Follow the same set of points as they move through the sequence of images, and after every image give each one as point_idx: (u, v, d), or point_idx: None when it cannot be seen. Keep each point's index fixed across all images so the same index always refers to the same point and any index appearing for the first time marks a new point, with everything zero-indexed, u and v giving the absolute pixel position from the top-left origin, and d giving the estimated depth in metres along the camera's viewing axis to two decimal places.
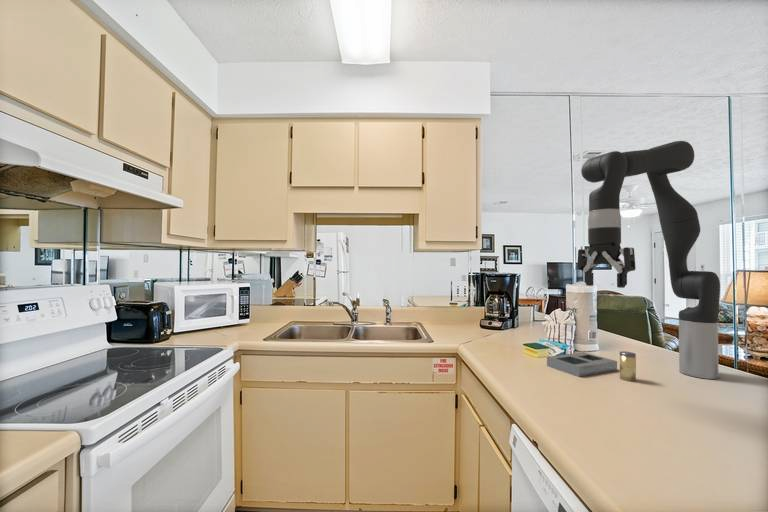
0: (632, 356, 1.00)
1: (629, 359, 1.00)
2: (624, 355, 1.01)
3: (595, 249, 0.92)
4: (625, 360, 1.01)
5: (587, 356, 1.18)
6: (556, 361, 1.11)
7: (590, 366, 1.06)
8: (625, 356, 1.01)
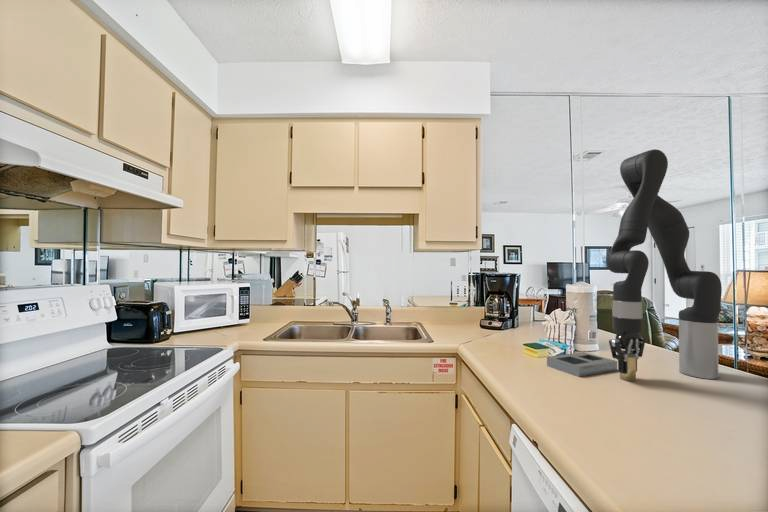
0: (632, 356, 1.00)
1: (629, 359, 1.00)
2: None
3: (627, 336, 1.00)
4: None
5: (587, 356, 1.18)
6: (556, 361, 1.11)
7: (590, 366, 1.06)
8: None
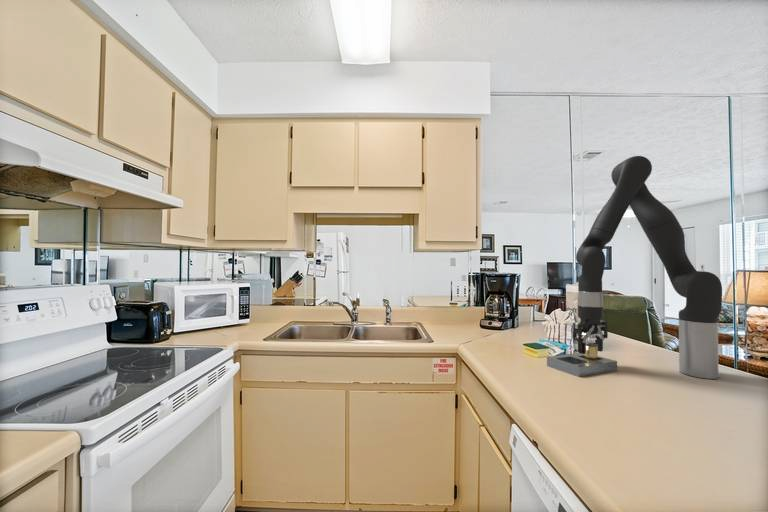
0: (594, 345, 1.13)
1: (591, 348, 1.13)
2: (587, 345, 1.13)
3: (589, 323, 1.13)
4: (588, 349, 1.13)
5: None
6: (556, 361, 1.11)
7: (590, 366, 1.06)
8: (588, 346, 1.13)
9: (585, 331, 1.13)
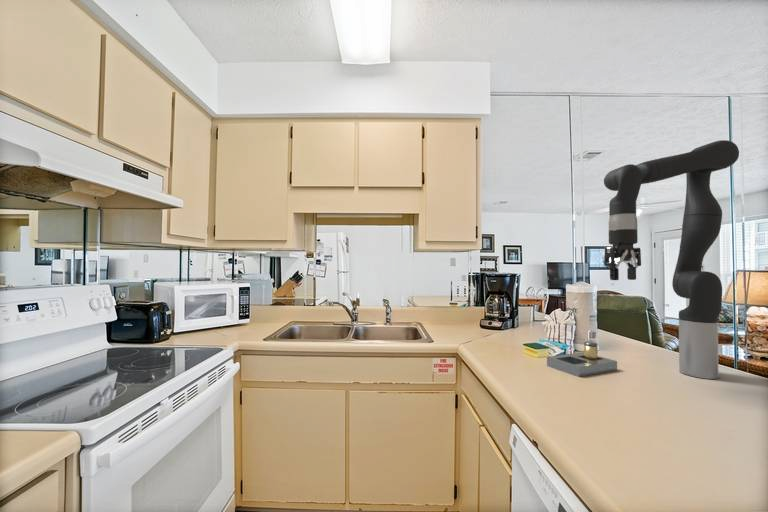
0: (594, 345, 1.13)
1: (591, 348, 1.13)
2: (587, 345, 1.13)
3: (623, 247, 1.05)
4: (588, 349, 1.13)
5: None
6: (556, 361, 1.11)
7: (590, 366, 1.06)
8: (588, 346, 1.13)
9: (618, 256, 1.05)
